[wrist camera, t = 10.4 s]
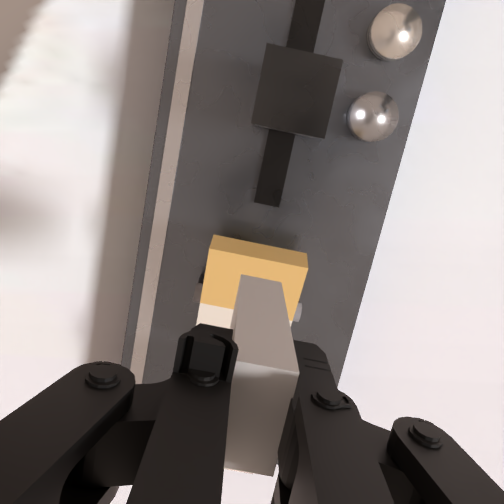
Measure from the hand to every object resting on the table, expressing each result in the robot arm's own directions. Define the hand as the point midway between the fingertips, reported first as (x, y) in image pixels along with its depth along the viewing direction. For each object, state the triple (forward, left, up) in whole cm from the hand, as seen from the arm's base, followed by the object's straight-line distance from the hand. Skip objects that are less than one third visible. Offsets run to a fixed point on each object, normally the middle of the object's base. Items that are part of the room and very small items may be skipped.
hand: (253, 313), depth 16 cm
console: (-2, 0, -11) cm, 12 cm away
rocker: (+2, 0, -7) cm, 7 cm away
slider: (-8, 0, -8) cm, 12 cm away
